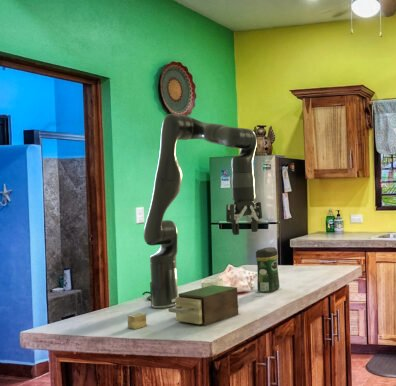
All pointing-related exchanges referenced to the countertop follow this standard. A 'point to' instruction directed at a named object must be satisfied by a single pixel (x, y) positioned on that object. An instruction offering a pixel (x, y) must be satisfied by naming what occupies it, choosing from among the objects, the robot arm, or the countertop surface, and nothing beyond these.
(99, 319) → the countertop surface
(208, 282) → the white cup
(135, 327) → the block
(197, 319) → the drawer
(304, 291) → the countertop surface
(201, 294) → the cabinet
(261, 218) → the robot arm
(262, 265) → the coffee jar
